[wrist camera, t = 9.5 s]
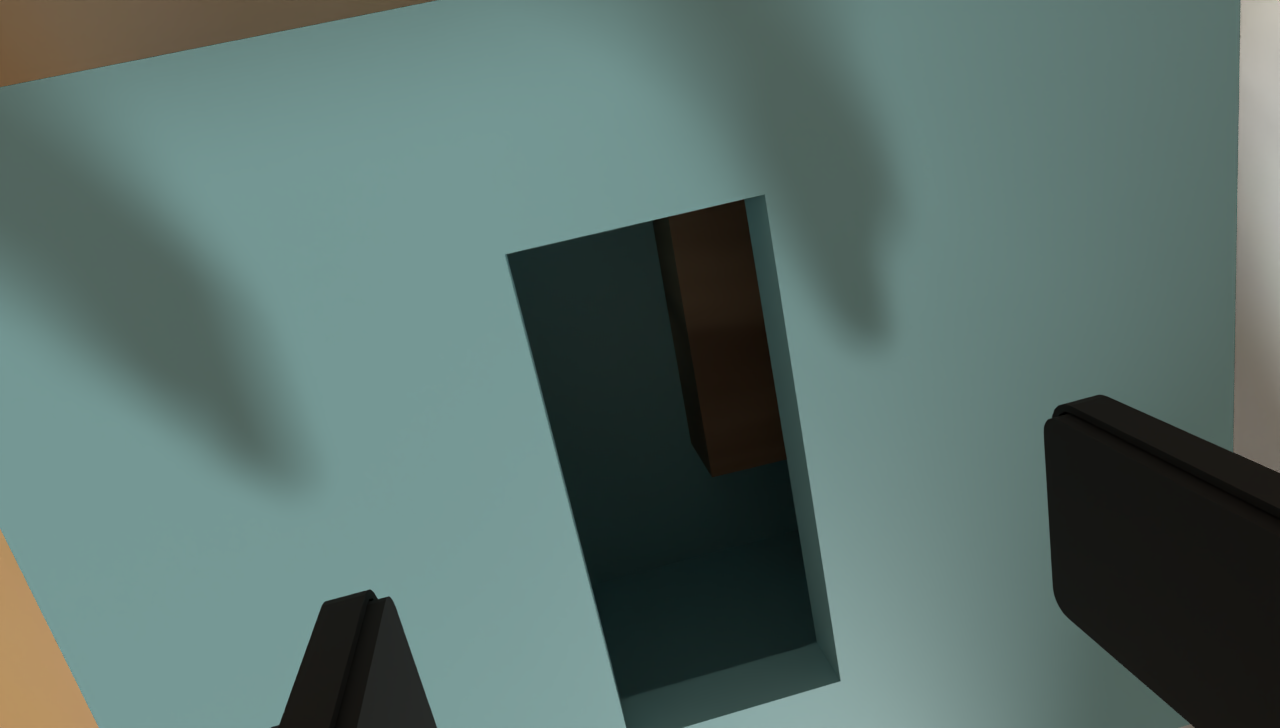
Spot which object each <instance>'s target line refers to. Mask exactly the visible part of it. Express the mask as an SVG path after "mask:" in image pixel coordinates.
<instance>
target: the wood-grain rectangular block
mask: <svg viewBox="0 0 1280 728" xmlns="http://www.w3.org/2000/svg"><path fill="white" fill-rule="evenodd" d="M652 222H653V228H654V234H655V239H656V245H657V251H658V257H659V262H660V268H661V274H662V279H663V285H664V291H665V297H666V302H667V308H668V314H669V320H670V325H671V331H672V337H673V342H674V348H675V354H676V360H677V365H678V371H679V377H680V383H681V388H682V394H683V400H684V405H685V411H686V417H687V423H688V428H689V434H690V440H691V444H692V446H693V447H694V449H695V450H696V452H697V454H698V455H699V457H700V459H701V460H702V462H703V463H704V465H705V467H706V468H707V470H708V472H709V473H710V475H711V476H712V477H716V476H720V475H724V474H728V473H732V472H737V471H741V470H745V469H749V468H753V467H757V466H761V465H766V464H770V463H774V462H778V461H782V460H786V459H787V457H786V451H785V445H784V439H783V433H782V426H781V420H780V414H779V408H778V402H777V396H776V390H775V384H774V378H773V372H772V365H771V359H770V353H769V347H768V341H767V335H766V329H765V323H764V317H763V311H762V304H761V298H760V292H759V286H758V280H757V274H756V268H755V262H754V256H753V249H752V243H751V237H750V231H749V225H748V219H747V213H746V207H745V201H744V199H743V200H738V201H734V202H730V203H725V204H721V205H717V206H712V207H708V208H704V209H699V210H695V211H691V212H686V213H682V214H678V215H673V216H669V217H665V218H660V219H656V220H652Z"/></svg>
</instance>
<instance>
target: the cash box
mask: <svg viewBox="0 0 1280 728" xmlns="http://www.w3.org/2000/svg"><path fill="white" fill-rule="evenodd" d="M1239 56H1240V0H436V1H431V2H426V3H421V4H416V5H411V6H406V7H401V8H396V9H391V10H386V11H381V12H376V13H371V14H366V15H361V16H356V17H351V18H346V19H341V20H336V21H331V22H326V23H321V24H316V25H311V26H306V27H301V28H296V29H291V30H286V31H281V32H275V33H270V34H265V35H260V36H255V37H250V38H245V39H240V40H235V41H230V42H225V43H220V44H215V45H210V46H205V47H200V48H195V49H190V50H185V51H180V52H175V53H170V54H165V55H160V56H155V57H150V58H145V59H140V60H135V61H130V62H125V63H120V64H115V65H110V66H104V67H99V68H94V69H89V70H84V71H79V72H74V73H69V74H64V75H59V76H54V77H49V78H44V79H39V80H34V81H29V82H24V83H19V84H14V85H9V86H4V87H0V529H1V531H2V533H3V535H4V537H5V539H6V541H7V543H8V545H9V547H10V549H11V551H12V553H13V555H14V557H15V559H16V561H17V563H18V565H19V567H20V569H21V571H22V573H23V575H24V577H25V579H26V581H27V583H28V586H29V588H30V590H31V592H32V594H33V596H34V598H35V600H36V602H37V604H38V606H39V608H40V610H41V612H42V614H43V616H44V618H45V620H46V622H47V624H48V626H49V628H50V630H51V632H52V634H53V636H54V638H55V640H56V642H57V644H58V646H59V648H60V650H61V652H62V654H63V656H64V658H65V660H66V662H67V664H68V666H69V668H70V670H71V672H72V674H73V676H74V678H75V680H76V682H77V684H78V686H79V688H80V690H81V692H82V694H83V696H84V698H85V701H86V703H87V705H88V707H89V709H90V711H91V713H92V715H93V717H94V719H95V721H96V723H97V725H98V727H99V728H271V727H273V726H277V725H279V724H280V721H281V718H282V715H283V713H284V710H285V707H286V704H287V701H288V699H289V696H290V693H291V690H292V687H293V685H294V682H295V679H296V676H297V673H298V671H299V668H300V665H301V662H302V659H303V657H304V654H305V651H306V648H307V645H308V643H309V640H310V637H311V634H312V631H313V628H314V626H315V623H316V620H317V617H318V614H319V612H320V609H321V606H322V604H323V603H324V602H325V601H328V600H332V599H336V598H339V597H343V596H347V595H351V594H354V593H358V592H362V591H366V590H369V589H371V590H372V591H373V592H374V593H375V595H376V596H377V598H378V599H380V598H384V597H388V596H389V597H391V598H392V600H393V602H394V604H395V606H396V609H397V612H398V615H399V618H400V621H401V624H402V626H403V629H404V632H405V635H406V638H407V641H408V644H409V647H410V650H411V653H412V656H413V659H414V661H415V664H416V667H417V670H418V673H419V676H420V679H421V682H422V685H423V688H424V691H425V694H426V697H427V699H428V702H429V705H430V708H431V711H432V714H433V717H434V720H435V723H436V726H437V728H1180V727H1183V726H1186V725H1190V723H1189V722H1188V721H1186V720H1185V719H1184V718H1183V717H1182V716H1181V715H1179V714H1178V713H1177V712H1176V711H1175V710H1174V709H1172V708H1171V707H1170V706H1169V705H1168V704H1167V703H1166V702H1164V701H1163V700H1162V699H1161V698H1160V697H1159V696H1157V695H1156V694H1155V693H1154V692H1153V691H1152V690H1150V689H1149V688H1148V687H1147V686H1146V685H1145V684H1144V683H1142V682H1141V681H1140V680H1139V679H1138V678H1137V677H1135V676H1134V675H1133V674H1132V673H1131V672H1130V671H1128V670H1127V669H1126V668H1125V667H1124V666H1123V665H1122V664H1120V663H1119V662H1118V661H1117V660H1116V659H1115V658H1113V657H1112V656H1111V655H1110V654H1109V653H1108V652H1106V651H1105V650H1104V649H1103V648H1102V647H1101V646H1100V645H1098V644H1097V643H1096V642H1095V641H1094V640H1093V639H1091V638H1090V637H1089V636H1088V635H1087V634H1086V633H1084V632H1083V631H1082V630H1081V629H1080V628H1079V627H1078V626H1076V625H1075V624H1074V623H1073V622H1072V621H1071V620H1069V619H1068V618H1067V617H1066V616H1065V615H1064V614H1063V612H1062V611H1061V609H1060V608H1059V606H1058V604H1057V602H1056V599H1055V596H1054V592H1053V583H1052V567H1051V550H1050V533H1049V516H1048V499H1047V482H1046V466H1045V449H1044V425H1045V422H1046V421H1047V420H1048V419H1050V418H1052V415H1053V412H1054V409H1055V408H1056V407H1057V406H1058V405H1062V404H1065V403H1069V402H1073V401H1077V400H1080V399H1084V398H1088V397H1092V396H1095V395H1105V396H1108V397H1110V398H1112V399H1114V400H1117V401H1119V402H1121V403H1123V404H1126V405H1128V406H1130V407H1132V408H1135V409H1137V410H1139V411H1141V412H1144V413H1146V414H1148V415H1150V416H1153V417H1155V418H1157V419H1159V420H1162V421H1164V422H1166V423H1168V424H1170V425H1173V426H1175V427H1177V428H1179V429H1182V430H1184V431H1186V432H1188V433H1191V434H1193V435H1195V436H1197V437H1200V438H1202V439H1204V440H1206V441H1209V442H1211V443H1213V444H1215V445H1218V446H1220V447H1222V448H1224V449H1226V450H1229V451H1231V452H1233V421H1234V360H1235V299H1236V238H1237V177H1238V117H1239ZM743 199H744V201H745V207H746V213H747V219H748V225H749V231H750V237H751V243H752V249H753V256H754V262H755V268H756V274H757V280H758V286H759V292H760V298H761V304H762V311H763V317H764V323H765V329H766V335H767V341H768V347H769V353H770V359H771V365H772V372H773V378H774V384H775V390H776V396H777V402H778V408H779V414H780V420H781V426H782V433H783V439H784V445H785V451H786V457H787V459H786V460H782V461H778V462H774V463H770V464H766V465H761V466H757V467H753V468H749V469H745V470H741V471H737V472H732V473H728V474H724V475H720V476H716V477H712V476H711V475H710V473H709V472H708V470H707V468H706V467H705V465H704V463H703V462H702V460H701V459H700V457H699V455H698V454H697V452H696V450H695V449H694V447H693V446H692V444H691V440H690V434H689V428H688V423H687V417H686V411H685V405H684V400H683V394H682V388H681V383H680V377H679V371H678V365H677V360H676V354H675V348H674V342H673V337H672V331H671V325H670V320H669V314H668V308H667V302H666V297H665V291H664V285H663V279H662V274H661V268H660V262H659V257H658V251H657V245H656V239H655V234H654V228H653V222H652V220H656V219H660V218H665V217H669V216H673V215H678V214H682V213H686V212H691V211H695V210H699V209H704V208H708V207H712V206H717V205H721V204H725V203H730V202H734V201H738V200H743Z"/></svg>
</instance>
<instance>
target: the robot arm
mask: <svg viewBox="0 0 1280 728" xmlns="http://www.w3.org/2000/svg"><path fill="white" fill-rule="evenodd" d="M1044 449H1045V466H1046V482H1047V499H1048V516H1049V533H1050V550H1051V567H1052V583H1053V592H1054V596H1055V599H1056V602H1057V604H1058V606H1059V608H1060V609H1061V611H1062V612H1063V614H1064V615H1065V616H1066V617H1067V618H1068V619H1069V620H1071V621H1072V622H1073V623H1074V624H1075V625H1076V626H1078V627H1079V628H1080V629H1081V630H1082V631H1083V632H1084V633H1086V634H1087V635H1088V636H1089V637H1090V638H1091V639H1093V640H1094V641H1095V642H1096V643H1097V644H1098V645H1100V646H1101V647H1102V648H1103V649H1104V650H1105V651H1106V652H1108V653H1109V654H1110V655H1111V656H1112V657H1113V658H1115V659H1116V660H1117V661H1118V662H1119V663H1120V664H1122V665H1123V666H1124V667H1125V668H1126V669H1127V670H1128V671H1130V672H1131V673H1132V674H1133V675H1134V676H1135V677H1137V678H1138V679H1139V680H1140V681H1141V682H1142V683H1144V684H1145V685H1146V686H1147V687H1148V688H1149V689H1150V690H1152V691H1153V692H1154V693H1155V694H1156V695H1157V696H1159V697H1160V698H1161V699H1162V700H1163V701H1164V702H1166V703H1167V704H1168V705H1169V706H1170V707H1171V708H1172V709H1174V710H1175V711H1176V712H1177V713H1178V714H1179V715H1181V716H1182V717H1183V718H1184V719H1185V720H1186V721H1188V722H1189V723H1190V725H1186V726H1183V727H1180V728H1280V473H1278V472H1276V471H1274V470H1271V469H1269V468H1267V467H1265V466H1262V465H1260V464H1258V463H1256V462H1253V461H1251V460H1249V459H1247V458H1244V457H1242V456H1240V455H1238V454H1235V453H1233V452H1231V451H1229V450H1226V449H1224V448H1222V447H1220V446H1218V445H1215V444H1213V443H1211V442H1209V441H1206V440H1204V439H1202V438H1200V437H1197V436H1195V435H1193V434H1191V433H1188V432H1186V431H1184V430H1182V429H1179V428H1177V427H1175V426H1173V425H1170V424H1168V423H1166V422H1164V421H1162V420H1159V419H1157V418H1155V417H1153V416H1150V415H1148V414H1146V413H1144V412H1141V411H1139V410H1137V409H1135V408H1132V407H1130V406H1128V405H1126V404H1123V403H1121V402H1119V401H1117V400H1114V399H1112V398H1110V397H1108V396H1105V395H1095V396H1092V397H1088V398H1084V399H1080V400H1077V401H1073V402H1069V403H1065V404H1062V405H1058V406H1057V407H1056V408H1055V409H1054V412H1053V415H1052V418H1050V419H1048V420H1047V421H1046V422H1045V425H1044ZM271 728H437V726H436V723H435V720H434V717H433V714H432V711H431V708H430V705H429V702H428V699H427V697H426V694H425V691H424V688H423V685H422V682H421V679H420V676H419V673H418V670H417V667H416V664H415V661H414V659H413V656H412V653H411V650H410V647H409V644H408V641H407V638H406V635H405V632H404V629H403V626H402V624H401V621H400V618H399V615H398V612H397V609H396V606H395V604H394V602H393V600H392V598H391V597H389V596H388V597H384V598H380V599H378V598H377V596H376V595H375V593H374V592H373V591H372V590H371V589H369V590H366V591H362V592H358V593H354V594H351V595H347V596H343V597H339V598H336V599H332V600H328V601H325V602H324V603H323V604H322V606H321V609H320V612H319V614H318V617H317V620H316V623H315V626H314V628H313V631H312V634H311V637H310V640H309V643H308V645H307V648H306V651H305V654H304V657H303V659H302V662H301V665H300V668H299V671H298V673H297V676H296V679H295V682H294V685H293V687H292V690H291V693H290V696H289V699H288V701H287V704H286V707H285V710H284V713H283V715H282V718H281V721H280V724H279V725H277V726H273V727H271Z"/></svg>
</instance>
